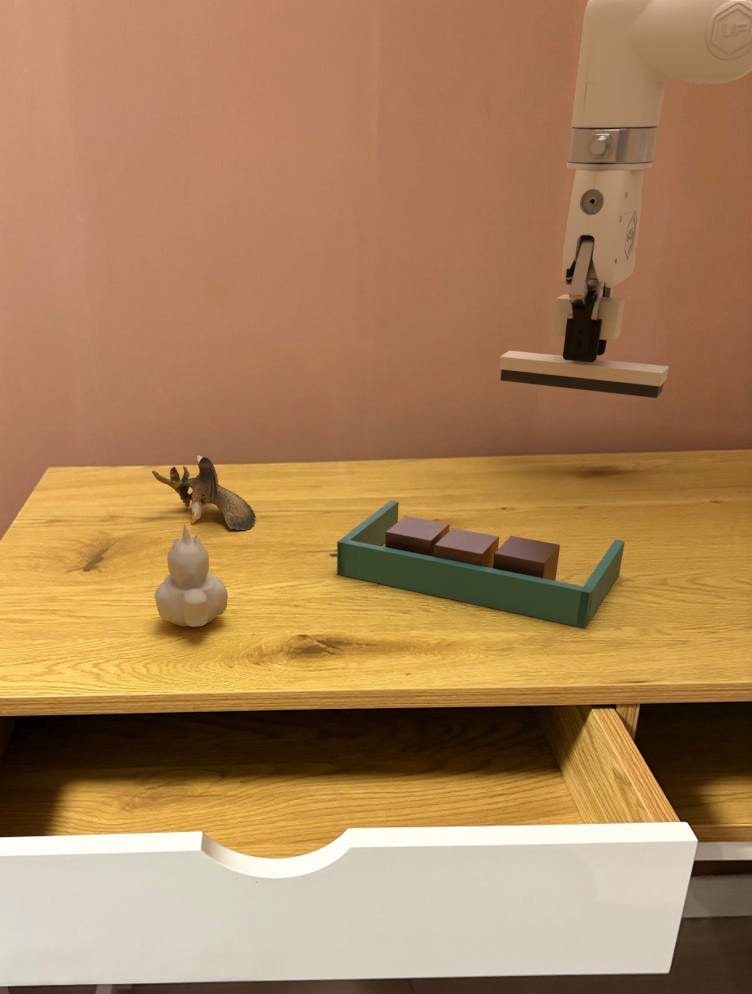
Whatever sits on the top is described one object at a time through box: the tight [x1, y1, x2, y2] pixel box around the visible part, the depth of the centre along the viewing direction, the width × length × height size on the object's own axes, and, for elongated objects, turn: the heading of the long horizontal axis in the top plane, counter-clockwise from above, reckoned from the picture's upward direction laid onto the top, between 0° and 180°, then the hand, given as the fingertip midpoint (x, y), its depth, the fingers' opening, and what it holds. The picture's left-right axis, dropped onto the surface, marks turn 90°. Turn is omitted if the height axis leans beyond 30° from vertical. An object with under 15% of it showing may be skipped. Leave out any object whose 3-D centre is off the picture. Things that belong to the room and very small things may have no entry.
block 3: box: [493, 535, 561, 581], centre depth 77 cm, size 4×4×4 cm
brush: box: [498, 293, 670, 399], centre depth 96 cm, size 16×3×8 cm, turn 60°
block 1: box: [384, 515, 451, 557], centre depth 81 cm, size 4×4×4 cm
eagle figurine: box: [151, 454, 257, 531], centre depth 93 cm, size 8×7×9 cm
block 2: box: [434, 527, 500, 568], centre depth 79 cm, size 4×4×4 cm
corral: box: [336, 500, 626, 629], centre depth 81 cm, size 21×11×3 cm, turn 60°
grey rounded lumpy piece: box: [154, 523, 229, 628], centre depth 73 cm, size 5×7×8 cm
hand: (583, 355), depth 97 cm, fingers closed on brush, 2 cm apart
